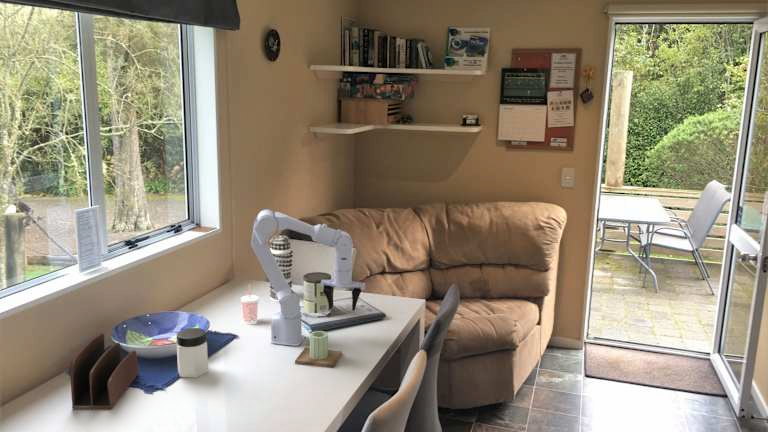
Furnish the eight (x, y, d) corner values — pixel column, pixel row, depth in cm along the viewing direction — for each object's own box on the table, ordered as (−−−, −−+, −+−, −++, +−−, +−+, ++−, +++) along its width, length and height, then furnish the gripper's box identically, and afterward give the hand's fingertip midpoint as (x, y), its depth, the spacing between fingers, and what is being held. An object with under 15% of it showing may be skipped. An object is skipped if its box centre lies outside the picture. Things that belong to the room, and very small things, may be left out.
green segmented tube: (307, 358, 188) (307, 336, 187) (313, 351, 194) (313, 330, 192) (324, 360, 187) (325, 338, 186) (329, 353, 193) (329, 331, 191)
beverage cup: (237, 323, 217) (236, 285, 214) (248, 317, 222) (247, 280, 220) (252, 326, 215) (251, 288, 212) (262, 320, 220) (261, 283, 217)
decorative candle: (291, 302, 239) (290, 240, 234) (267, 302, 239) (266, 239, 234) (294, 295, 248) (294, 234, 242) (271, 294, 248) (270, 233, 243)
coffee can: (315, 305, 236) (315, 270, 233) (336, 311, 231) (337, 275, 228) (297, 313, 228) (297, 276, 225) (319, 319, 222) (319, 282, 220)
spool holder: (295, 363, 187) (294, 346, 186) (305, 350, 197) (305, 333, 195) (333, 367, 185) (333, 350, 184) (341, 354, 194) (342, 337, 193)
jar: (210, 375, 178) (208, 336, 176) (180, 380, 175) (178, 341, 172) (204, 363, 186) (203, 325, 183) (176, 367, 182) (174, 329, 180)
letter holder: (71, 410, 158) (67, 358, 155) (103, 374, 177) (100, 328, 175) (111, 410, 158) (107, 359, 156) (138, 374, 178) (136, 328, 175)
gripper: (318, 270, 199) (317, 310, 202) (362, 274, 196) (361, 314, 199) (324, 264, 206) (323, 303, 209) (366, 268, 203) (366, 307, 206)
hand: (342, 308), depth 204 cm, fingers open, 7 cm apart
